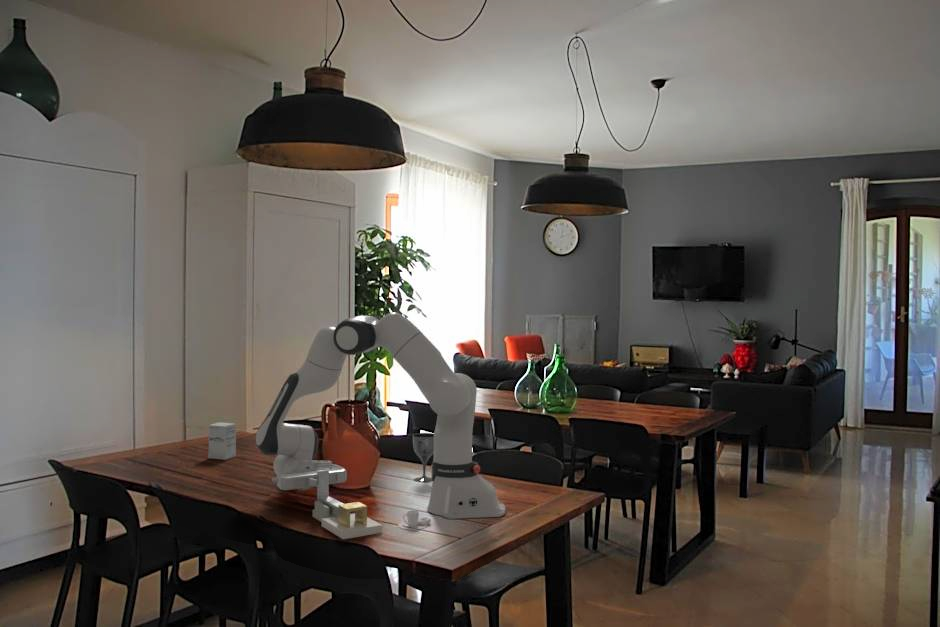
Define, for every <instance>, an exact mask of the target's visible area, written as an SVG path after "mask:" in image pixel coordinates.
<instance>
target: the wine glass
mask: <svg viewBox="0 0 940 627" xmlns="http://www.w3.org/2000/svg"><path fill="white" fill-rule="evenodd" d="M412 446H413V451H414V453H415V454H416V456H417V457H418V458H419V459H420V461H421V464H422V476H419V477H415V478H413V481H415V482H417V483H431V482H433V481H432V478H431V476H430V477H429V476H427V475H426V467H427V463H428V461H429V459H430V458H431V457H432V456H433V455H434V433H431V432H419V433H418V432H417V433H413V434H412Z"/></svg>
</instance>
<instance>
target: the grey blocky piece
mask: <svg viewBox="0 0 940 627" xmlns="http://www.w3.org/2000/svg"><path fill="white" fill-rule="evenodd" d="M334 499H335V500H337V499H336V498H334ZM337 501H339V500H337ZM329 517H335V516H334V515H332V514H330V513H329V507H328V506H326V505H325V504H323V503H321V502H319V501H317V500H315V501H314V509H312V518H314V519H315V520H317V521H318V522H321V523H322V519H323V518H329Z"/></svg>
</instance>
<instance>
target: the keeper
mask: <svg viewBox="0 0 940 627" xmlns="http://www.w3.org/2000/svg"><path fill="white" fill-rule="evenodd" d="M351 512H354V513H355V521H357V522H359V523H361V524H363V525H366V524H367V517H368V505H366V504H364V503H362V502H360V501H356V502H355V501H354V502H348V503H343V504H340V505H338V523H339V524H341V525H343V526H344V527H346V528H348V527H350V514H351Z"/></svg>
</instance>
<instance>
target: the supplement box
mask: <svg viewBox="0 0 940 627" xmlns="http://www.w3.org/2000/svg"><path fill="white" fill-rule="evenodd" d="M236 453H237V424H236V423H232V422H214V423H211V424H209V425H208V455H207V456H208V459H214V460H223V461H226V460H230V459H233V458H234V457H236V455H237V454H236Z"/></svg>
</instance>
